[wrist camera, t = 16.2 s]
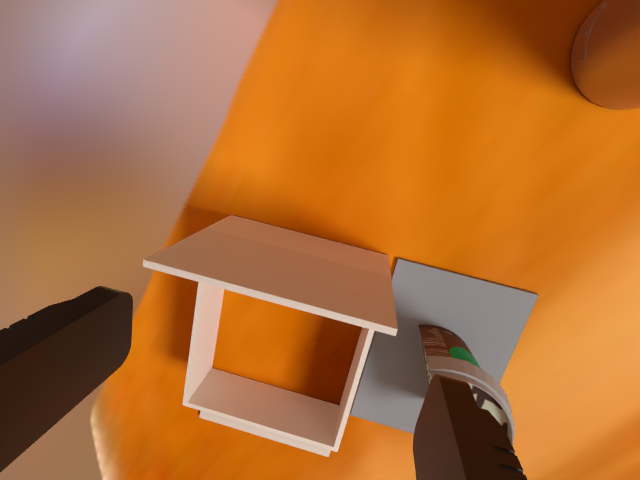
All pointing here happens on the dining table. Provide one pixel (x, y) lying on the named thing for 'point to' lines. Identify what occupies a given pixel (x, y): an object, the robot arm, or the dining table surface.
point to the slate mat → (445, 311)
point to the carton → (285, 289)
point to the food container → (464, 372)
